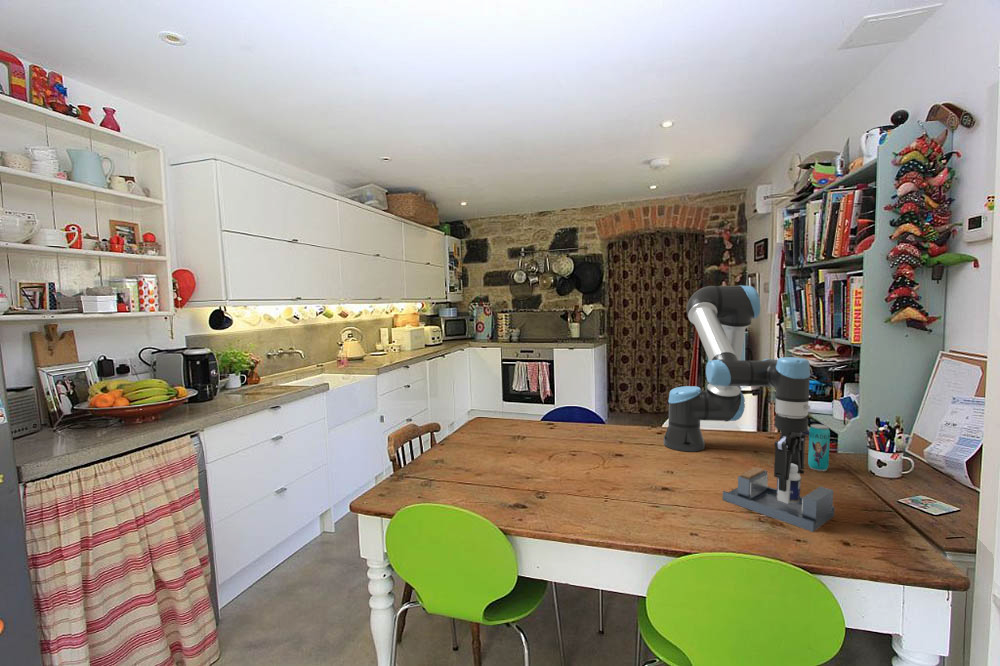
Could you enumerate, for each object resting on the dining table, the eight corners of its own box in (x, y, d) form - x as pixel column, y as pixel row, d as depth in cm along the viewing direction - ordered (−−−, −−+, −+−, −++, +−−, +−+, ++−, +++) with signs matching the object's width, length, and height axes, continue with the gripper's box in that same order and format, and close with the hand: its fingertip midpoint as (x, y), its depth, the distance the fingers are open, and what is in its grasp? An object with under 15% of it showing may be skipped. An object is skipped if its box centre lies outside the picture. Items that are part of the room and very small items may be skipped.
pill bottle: (774, 500, 125) (776, 465, 124) (778, 493, 129) (779, 459, 128) (798, 505, 121) (799, 470, 120) (800, 498, 125) (802, 464, 125)
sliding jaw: (737, 497, 131) (738, 474, 130) (756, 487, 137) (756, 466, 137) (749, 501, 128) (750, 478, 127) (768, 491, 134) (768, 469, 134)
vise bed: (722, 500, 133) (723, 474, 132) (746, 488, 141) (747, 464, 140) (812, 531, 114) (814, 502, 114) (834, 515, 122) (835, 488, 122)
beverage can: (809, 470, 154) (810, 427, 153) (806, 465, 160) (808, 422, 158) (829, 473, 152) (831, 429, 151) (826, 467, 157) (828, 424, 156)
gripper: (791, 423, 115) (788, 513, 116) (821, 412, 126) (817, 494, 127) (760, 417, 121) (758, 503, 122) (790, 407, 132) (788, 486, 133)
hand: (788, 498), depth 125 cm, fingers closed on pill bottle, 5 cm apart
